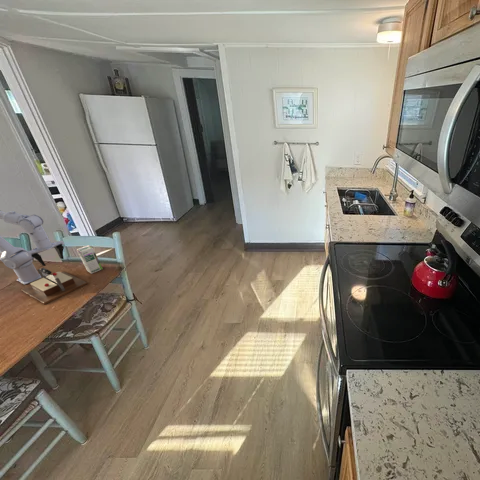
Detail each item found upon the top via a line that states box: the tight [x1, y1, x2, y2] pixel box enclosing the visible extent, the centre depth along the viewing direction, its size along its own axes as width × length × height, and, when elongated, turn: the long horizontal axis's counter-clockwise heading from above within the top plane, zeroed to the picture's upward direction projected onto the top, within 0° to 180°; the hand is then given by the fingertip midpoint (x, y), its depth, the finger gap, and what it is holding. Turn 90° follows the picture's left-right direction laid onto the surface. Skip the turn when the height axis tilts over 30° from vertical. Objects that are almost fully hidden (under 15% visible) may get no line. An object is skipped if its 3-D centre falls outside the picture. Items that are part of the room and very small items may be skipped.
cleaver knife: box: [39, 267, 57, 283], centre depth 134 cm, size 15×2×6 cm, turn 64°
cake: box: [29, 271, 75, 296], centre depth 136 cm, size 14×12×5 cm
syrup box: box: [76, 244, 103, 275], centre depth 148 cm, size 6×6×14 cm
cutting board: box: [20, 268, 89, 305], centre depth 136 cm, size 24×18×8 cm
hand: (53, 261), depth 140 cm, fingers open, 7 cm apart
